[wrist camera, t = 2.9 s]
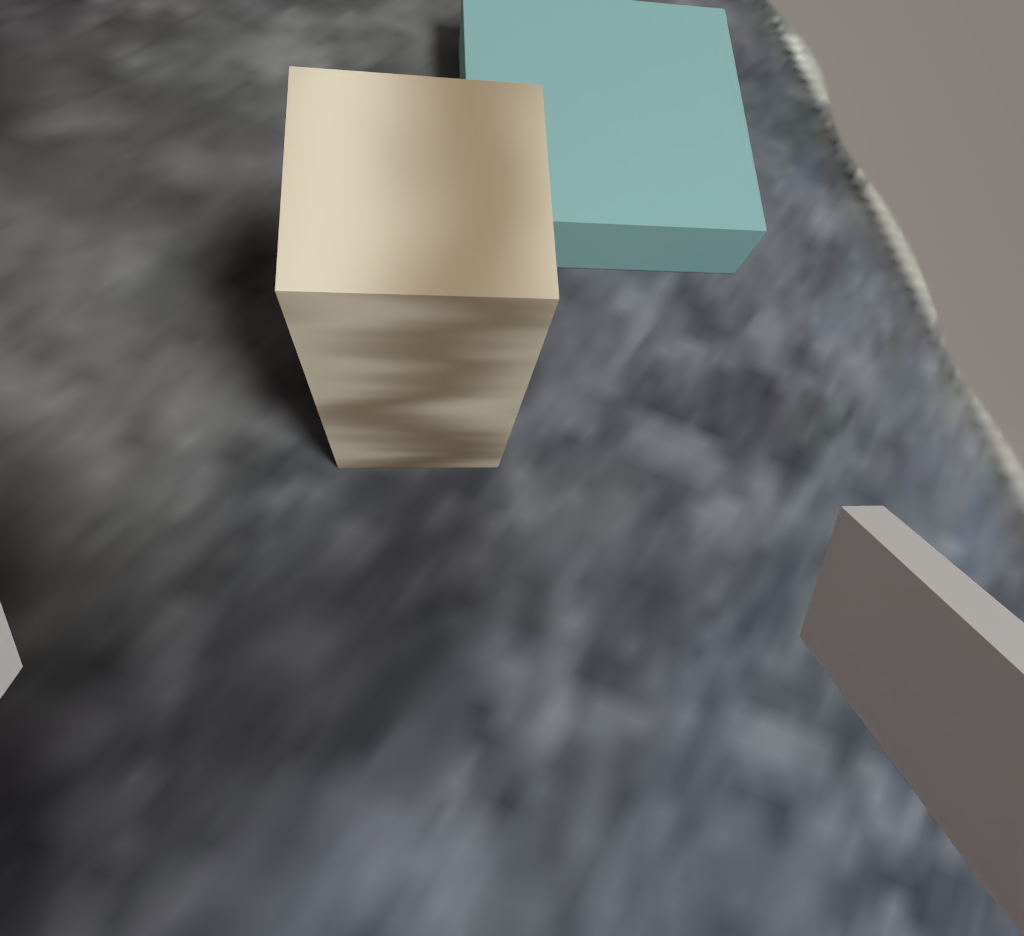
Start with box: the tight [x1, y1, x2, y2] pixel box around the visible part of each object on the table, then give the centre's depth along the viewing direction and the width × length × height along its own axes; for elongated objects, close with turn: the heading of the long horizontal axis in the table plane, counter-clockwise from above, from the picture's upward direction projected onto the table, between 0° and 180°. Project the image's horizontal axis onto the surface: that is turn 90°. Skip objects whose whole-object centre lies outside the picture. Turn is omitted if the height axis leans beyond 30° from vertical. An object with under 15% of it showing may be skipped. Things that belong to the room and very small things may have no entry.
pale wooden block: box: [275, 66, 559, 468], centre depth 21 cm, size 6×6×12 cm
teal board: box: [459, 0, 767, 274], centre depth 30 cm, size 12×12×3 cm
